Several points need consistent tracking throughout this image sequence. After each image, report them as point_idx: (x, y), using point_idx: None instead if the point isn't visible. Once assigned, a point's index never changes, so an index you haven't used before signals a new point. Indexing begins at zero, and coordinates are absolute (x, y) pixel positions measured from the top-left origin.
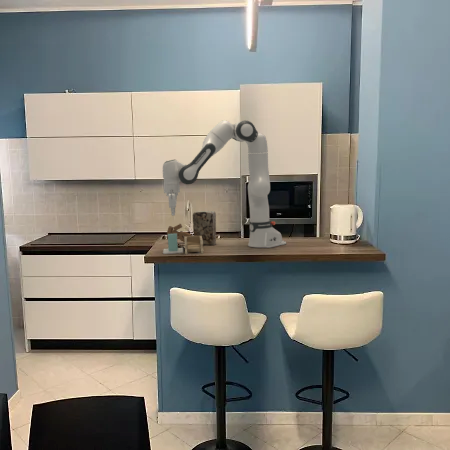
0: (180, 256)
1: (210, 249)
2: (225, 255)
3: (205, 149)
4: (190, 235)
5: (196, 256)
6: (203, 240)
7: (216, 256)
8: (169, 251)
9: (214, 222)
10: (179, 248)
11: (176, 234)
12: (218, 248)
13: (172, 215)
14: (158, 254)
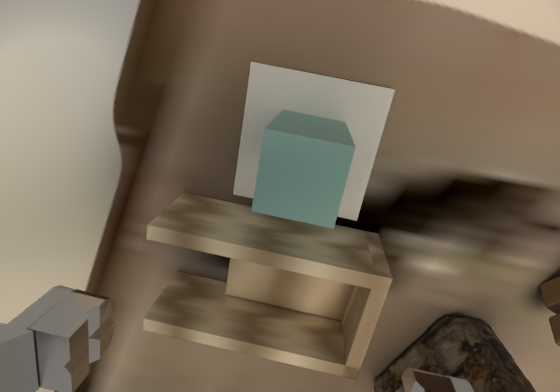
0: (139, 156)
1: None
2: None
3: None
4: (556, 342)
5: (114, 233)
6: (419, 367)
7: None
8: (271, 113)
9: None
10: (344, 195)
11: (273, 213)
12: (276, 372)
13: (62, 293)
14: (253, 26)
